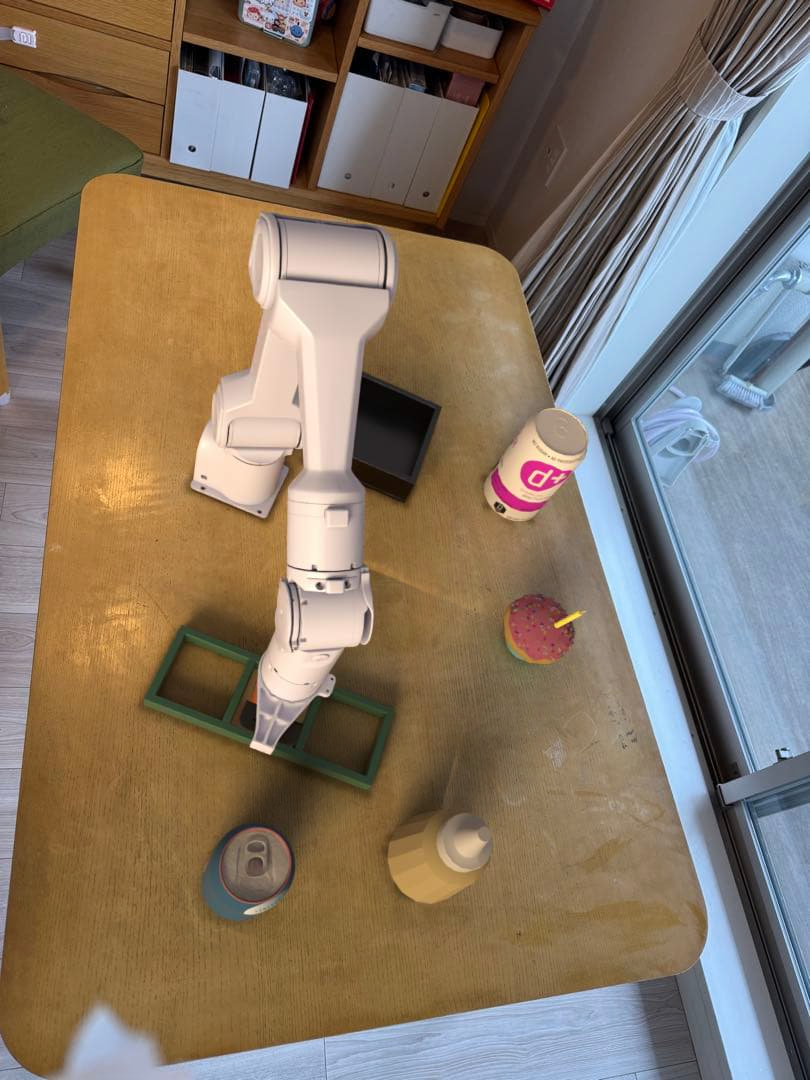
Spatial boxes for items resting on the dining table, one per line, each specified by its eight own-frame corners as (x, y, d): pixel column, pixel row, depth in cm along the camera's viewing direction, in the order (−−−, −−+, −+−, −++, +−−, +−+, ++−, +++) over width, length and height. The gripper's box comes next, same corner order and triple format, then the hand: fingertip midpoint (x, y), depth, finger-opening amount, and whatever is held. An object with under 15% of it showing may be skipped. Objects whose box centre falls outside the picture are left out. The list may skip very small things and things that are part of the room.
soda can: (275, 919, 71) (299, 909, 61) (198, 924, 69) (209, 915, 59) (276, 839, 74) (298, 817, 64) (202, 842, 72) (213, 820, 62)
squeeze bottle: (374, 821, 78) (432, 783, 63) (449, 818, 80) (522, 781, 65) (379, 909, 74) (442, 891, 59) (458, 904, 77) (537, 885, 62)
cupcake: (561, 628, 96) (610, 587, 86) (546, 688, 91) (597, 652, 81) (499, 599, 95) (542, 554, 85) (481, 658, 91) (524, 618, 81)
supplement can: (535, 531, 102) (591, 469, 90) (477, 511, 101) (526, 445, 88) (541, 483, 106) (595, 417, 94) (485, 463, 105) (533, 394, 93)
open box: (304, 460, 96) (311, 439, 93) (339, 386, 104) (347, 364, 100) (404, 503, 98) (415, 484, 94) (431, 427, 105) (442, 406, 102)
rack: (365, 791, 79) (371, 786, 77) (143, 706, 77) (143, 699, 75) (388, 715, 84) (395, 708, 82) (180, 633, 81) (181, 624, 79)
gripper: (317, 749, 62) (288, 785, 74) (370, 599, 70) (337, 652, 82) (235, 717, 62) (219, 758, 73) (298, 570, 70) (274, 627, 81)
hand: (276, 701), depth 77 cm, fingers open, 6 cm apart
